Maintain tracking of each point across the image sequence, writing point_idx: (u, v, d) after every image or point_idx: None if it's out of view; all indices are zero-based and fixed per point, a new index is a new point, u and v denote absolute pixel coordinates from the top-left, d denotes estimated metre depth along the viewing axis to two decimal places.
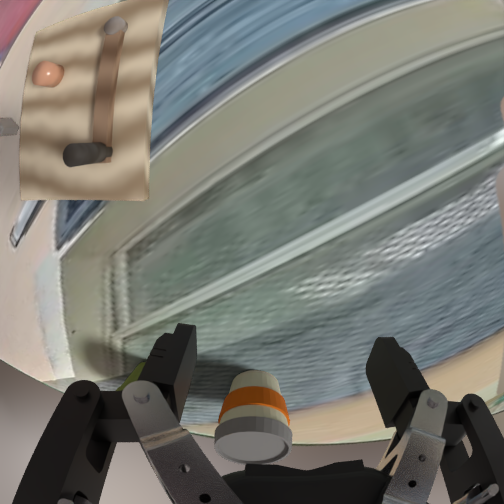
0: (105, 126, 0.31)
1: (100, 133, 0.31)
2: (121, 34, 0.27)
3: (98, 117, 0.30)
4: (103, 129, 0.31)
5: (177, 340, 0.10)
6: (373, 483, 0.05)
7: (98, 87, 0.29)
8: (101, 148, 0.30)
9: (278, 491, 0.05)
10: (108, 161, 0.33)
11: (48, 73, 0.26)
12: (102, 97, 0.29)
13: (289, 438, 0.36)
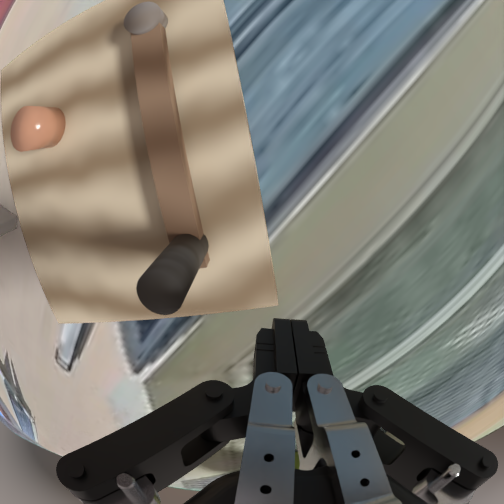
0: (187, 204, 0.20)
1: (180, 218, 0.20)
2: (162, 31, 0.15)
3: (166, 189, 0.19)
4: (184, 210, 0.20)
5: (281, 333, 0.11)
6: (322, 498, 0.04)
7: (148, 132, 0.18)
8: (197, 249, 0.19)
9: None
10: (207, 261, 0.22)
11: (39, 127, 0.16)
12: (163, 150, 0.18)
13: None
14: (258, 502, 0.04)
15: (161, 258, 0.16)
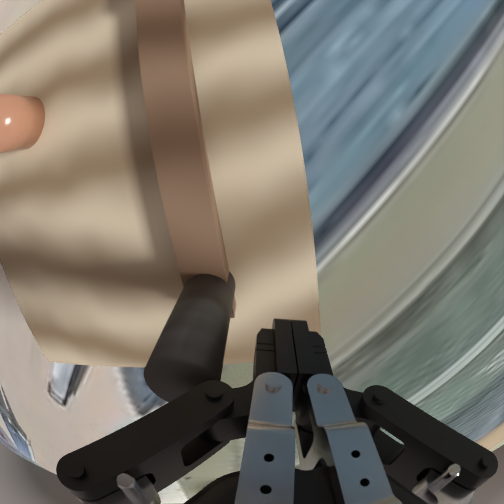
0: (210, 233, 0.14)
1: (199, 252, 0.14)
2: None
3: (180, 210, 0.14)
4: (205, 241, 0.14)
5: (281, 333, 0.11)
6: (322, 498, 0.04)
7: (154, 126, 0.12)
8: (226, 301, 0.14)
9: None
10: (234, 308, 0.16)
11: (7, 121, 0.10)
12: (176, 153, 0.13)
13: (475, 501, 0.17)
14: (258, 502, 0.04)
15: (179, 326, 0.10)
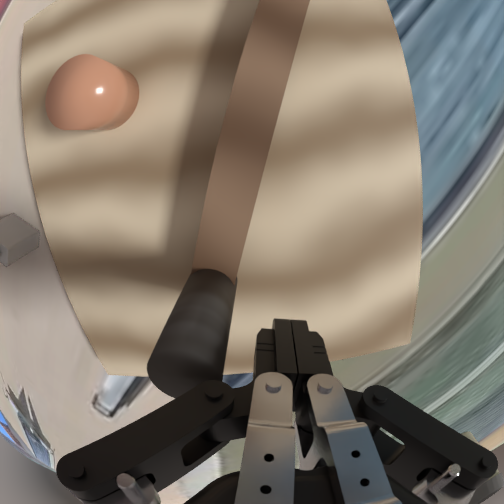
0: (240, 236, 0.14)
1: (221, 249, 0.14)
2: None
3: (221, 203, 0.14)
4: (232, 242, 0.14)
5: (281, 333, 0.11)
6: (322, 498, 0.04)
7: (232, 112, 0.12)
8: (232, 305, 0.14)
9: None
10: None
11: (107, 88, 0.10)
12: (242, 149, 0.13)
13: (503, 481, 0.17)
14: (258, 502, 0.04)
15: (196, 321, 0.10)
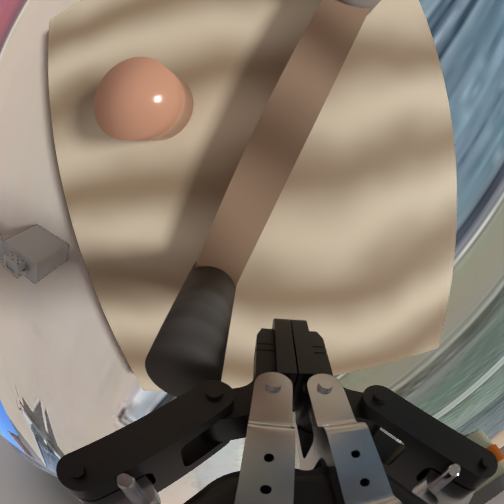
0: (251, 240, 0.14)
1: (230, 249, 0.14)
2: (364, 18, 0.10)
3: (238, 205, 0.14)
4: (242, 244, 0.14)
5: (281, 333, 0.11)
6: (322, 498, 0.04)
7: (267, 117, 0.12)
8: (232, 306, 0.14)
9: None
10: None
11: (173, 98, 0.10)
12: (270, 155, 0.13)
13: None
14: (258, 502, 0.04)
15: (201, 319, 0.10)
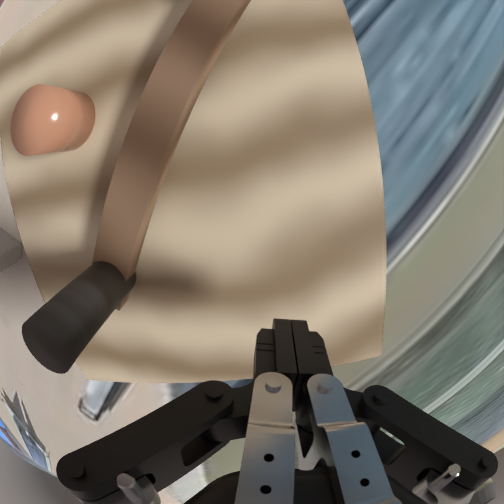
0: (131, 236, 0.14)
1: (116, 245, 0.14)
2: (244, 1, 0.10)
3: (118, 204, 0.13)
4: (125, 240, 0.14)
5: (281, 333, 0.11)
6: (322, 498, 0.04)
7: (136, 119, 0.12)
8: (114, 298, 0.14)
9: None
10: (124, 303, 0.16)
11: (57, 116, 0.10)
12: (140, 155, 0.13)
13: (497, 491, 0.16)
14: (258, 502, 0.04)
15: (64, 304, 0.10)
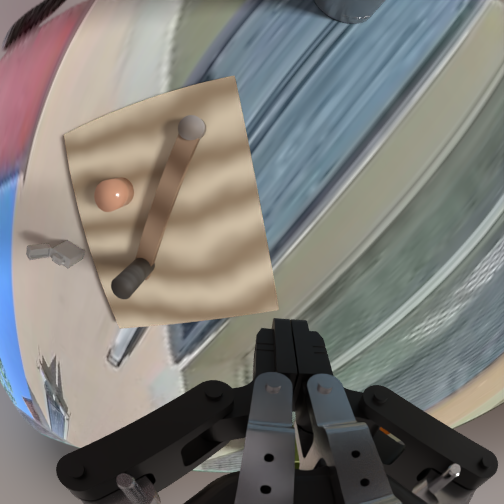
0: (154, 247, 0.35)
1: (147, 251, 0.35)
2: (196, 143, 0.31)
3: (148, 233, 0.34)
4: (151, 249, 0.35)
5: (281, 333, 0.11)
6: (322, 498, 0.04)
7: (155, 200, 0.33)
8: (146, 272, 0.34)
9: None
10: (148, 277, 0.37)
11: (121, 197, 0.31)
12: (157, 214, 0.34)
13: None
14: (258, 502, 0.04)
15: (129, 272, 0.31)
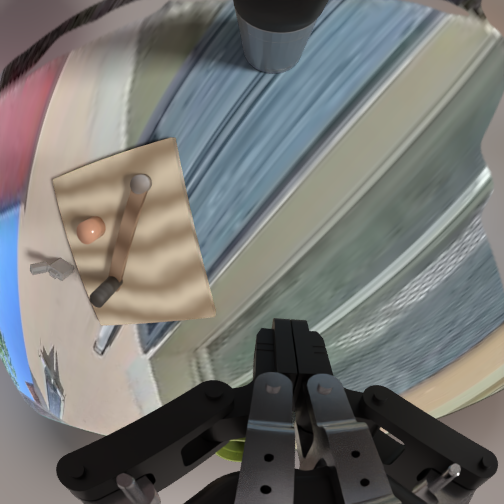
0: (120, 269, 0.46)
1: (116, 271, 0.46)
2: (144, 195, 0.42)
3: (116, 259, 0.45)
4: (118, 270, 0.46)
5: (281, 333, 0.11)
6: (322, 498, 0.04)
7: (119, 236, 0.44)
8: (115, 287, 0.46)
9: None
10: (118, 289, 0.48)
11: (94, 234, 0.42)
12: (121, 246, 0.45)
13: None
14: (258, 502, 0.04)
15: (102, 288, 0.42)
